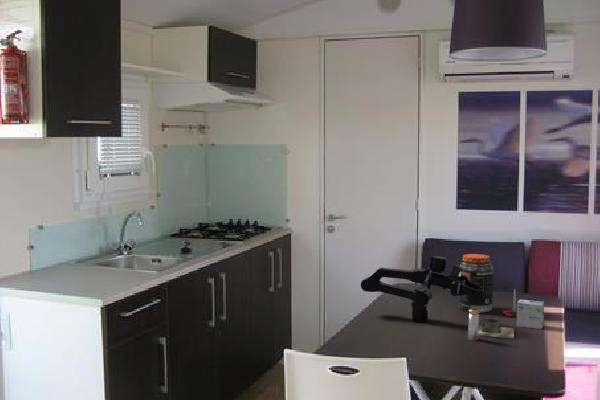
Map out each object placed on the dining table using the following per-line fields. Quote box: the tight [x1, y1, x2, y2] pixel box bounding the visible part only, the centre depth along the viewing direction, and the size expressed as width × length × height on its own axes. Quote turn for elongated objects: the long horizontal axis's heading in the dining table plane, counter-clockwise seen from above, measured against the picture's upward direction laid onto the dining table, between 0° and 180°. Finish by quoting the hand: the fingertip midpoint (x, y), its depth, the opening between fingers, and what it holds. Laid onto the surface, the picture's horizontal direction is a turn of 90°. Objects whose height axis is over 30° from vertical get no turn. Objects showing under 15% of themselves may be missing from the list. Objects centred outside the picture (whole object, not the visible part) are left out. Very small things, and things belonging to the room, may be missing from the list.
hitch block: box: [478, 317, 515, 339], centre depth 291 cm, size 18×12×5 cm, turn 74°
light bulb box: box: [516, 299, 545, 330], centre depth 302 cm, size 11×7×11 cm, turn 65°
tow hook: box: [502, 288, 517, 318], centre depth 321 cm, size 8×13×9 cm
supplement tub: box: [457, 253, 494, 314], centre depth 329 cm, size 16×16×26 cm
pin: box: [467, 309, 480, 341], centre depth 281 cm, size 4×4×12 cm
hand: (478, 289), depth 298 cm, fingers open, 9 cm apart
